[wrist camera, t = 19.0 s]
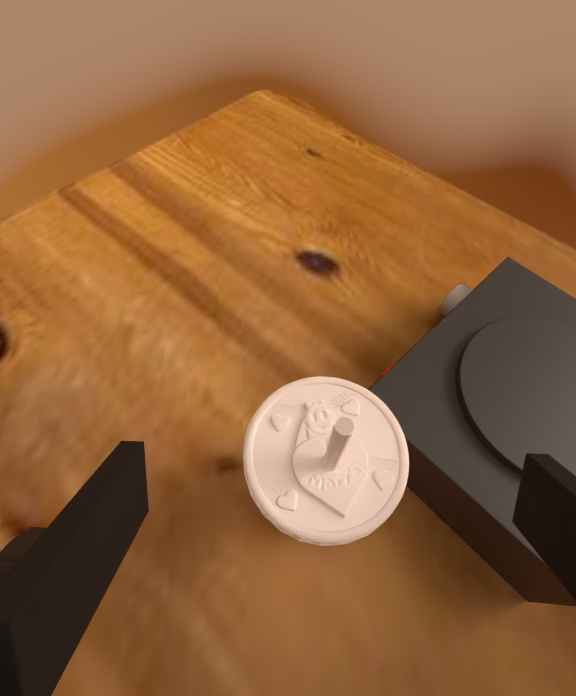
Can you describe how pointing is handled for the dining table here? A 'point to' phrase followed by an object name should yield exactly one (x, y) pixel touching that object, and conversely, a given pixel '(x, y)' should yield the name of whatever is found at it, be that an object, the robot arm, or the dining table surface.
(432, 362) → the hot plate
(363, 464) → the smoothie
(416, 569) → the dining table surface
